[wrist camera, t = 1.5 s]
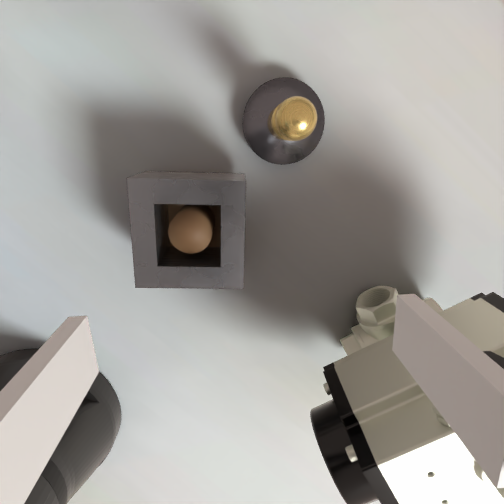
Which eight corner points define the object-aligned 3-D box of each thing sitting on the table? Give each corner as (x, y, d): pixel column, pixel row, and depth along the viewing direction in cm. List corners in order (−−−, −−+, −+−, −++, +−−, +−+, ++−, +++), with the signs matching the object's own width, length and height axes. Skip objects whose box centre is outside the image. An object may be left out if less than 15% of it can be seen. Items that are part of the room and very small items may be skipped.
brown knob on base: (165, 248, 32) (151, 270, 27) (162, 181, 30) (146, 191, 25) (231, 249, 32) (230, 271, 27) (232, 183, 30) (231, 193, 25)
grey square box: (151, 264, 31) (135, 287, 26) (145, 171, 28) (126, 177, 24) (242, 265, 31) (243, 288, 26) (244, 173, 29) (245, 180, 24)
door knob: (242, 162, 30) (243, 172, 22) (243, 79, 28) (246, 54, 20) (316, 164, 30) (347, 174, 22) (323, 82, 28) (359, 59, 20)
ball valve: (453, 240, 33) (681, 350, 16) (479, 311, 35) (700, 471, 18) (282, 325, 35) (323, 501, 18) (318, 386, 37) (384, 592, 21)
